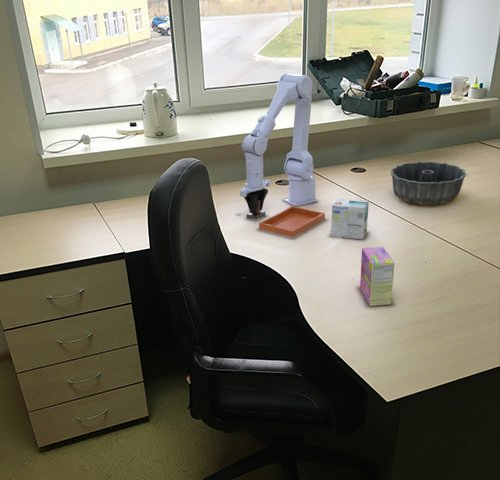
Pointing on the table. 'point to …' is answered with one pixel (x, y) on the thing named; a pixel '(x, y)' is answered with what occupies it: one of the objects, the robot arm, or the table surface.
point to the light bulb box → (349, 218)
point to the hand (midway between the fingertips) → (255, 211)
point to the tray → (292, 221)
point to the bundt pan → (427, 182)
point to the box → (376, 276)
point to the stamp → (258, 212)
